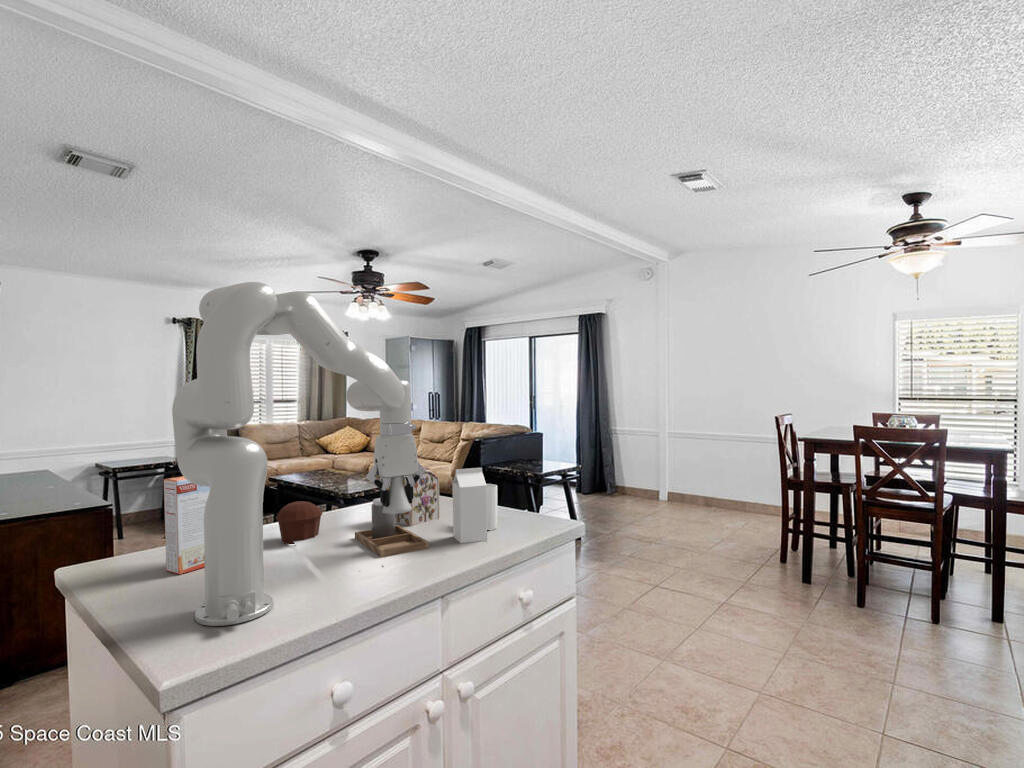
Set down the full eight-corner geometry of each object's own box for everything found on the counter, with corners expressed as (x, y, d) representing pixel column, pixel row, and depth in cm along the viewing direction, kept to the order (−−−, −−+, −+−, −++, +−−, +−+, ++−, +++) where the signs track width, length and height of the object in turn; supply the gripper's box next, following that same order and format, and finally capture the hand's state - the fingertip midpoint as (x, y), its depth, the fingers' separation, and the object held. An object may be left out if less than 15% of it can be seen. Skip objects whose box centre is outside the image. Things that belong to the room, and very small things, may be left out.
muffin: (329, 534, 150) (328, 498, 150) (313, 545, 139) (313, 506, 139) (286, 534, 151) (286, 498, 151) (267, 546, 139) (267, 507, 140)
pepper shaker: (399, 539, 140) (398, 499, 140) (376, 543, 137) (376, 503, 137) (390, 534, 145) (390, 496, 145) (368, 538, 142) (368, 499, 142)
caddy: (428, 552, 132) (428, 541, 132) (381, 561, 125) (381, 550, 125) (398, 534, 149) (398, 525, 149) (354, 541, 142) (354, 532, 142)
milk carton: (487, 543, 138) (486, 469, 138) (460, 547, 136) (459, 471, 136) (478, 536, 145) (477, 465, 145) (453, 540, 142) (452, 467, 142)
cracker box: (224, 554, 133) (223, 469, 133) (239, 557, 130) (238, 470, 130) (163, 571, 121) (162, 477, 121) (178, 575, 118) (177, 479, 118)
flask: (405, 515, 129) (404, 473, 129) (377, 514, 130) (376, 472, 130) (416, 508, 136) (415, 468, 136) (389, 507, 137) (388, 468, 137)
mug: (503, 528, 154) (502, 485, 154) (485, 532, 149) (484, 489, 149) (479, 522, 161) (479, 481, 161) (462, 526, 156) (461, 484, 156)
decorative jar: (411, 530, 153) (410, 466, 153) (384, 524, 160) (383, 463, 160) (441, 521, 163) (440, 461, 163) (414, 516, 170) (413, 458, 170)
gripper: (421, 427, 141) (423, 497, 141) (356, 431, 132) (357, 506, 132) (434, 429, 135) (435, 502, 135) (366, 433, 125) (367, 512, 125)
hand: (397, 503), depth 133 cm, fingers closed on flask, 5 cm apart
